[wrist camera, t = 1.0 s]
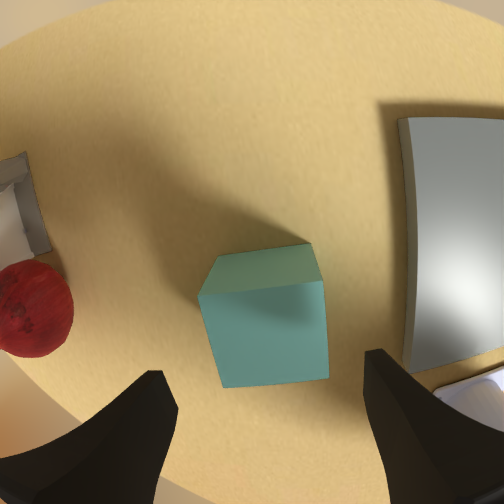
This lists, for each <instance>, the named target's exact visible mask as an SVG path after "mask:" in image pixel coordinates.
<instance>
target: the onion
mask: <svg viewBox="0 0 504 504" xmlns="http://www.w3.org/2000/svg"><path fill="white" fill-rule="evenodd" d="M73 316H74V305H73V299H72V295H71V292H70V289H69V286H68V285H67V283H66V281H65V280H64V278H63V277H62V276H61V275H60V274H59V273H58V272H57V271H55V270H54V269H53V268H52V267H51V266H50V265H48V264H45V263H42V262H40V261H36V260H31V259H27V260H23V261H20V262H17V263H14V264H11V265H8V266H7V267H6V268H4V269H3V270H2V271H0V349H3V350H4V351H6V352H8V353H10V354H12V355H15V356H18V357H23V358H37V357H43V356H46V355H48V354H50V353H51V352H53V351H54V350H55V349H57V348H58V347H59V346H61V345H62V344H63V343H64V342H65V340H66V338H67V336H68V334H69V332H70V329H71V326H72V323H73Z"/></svg>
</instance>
